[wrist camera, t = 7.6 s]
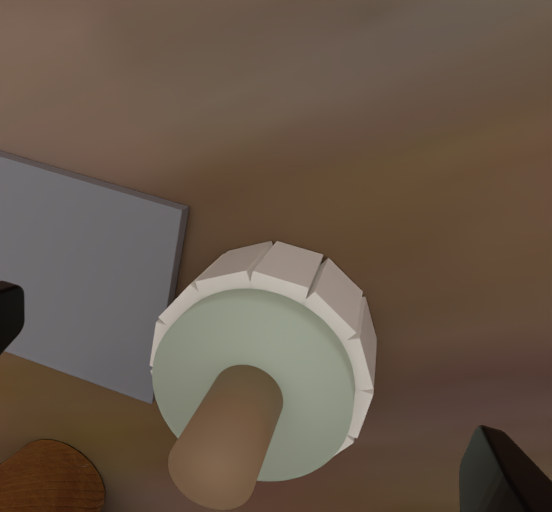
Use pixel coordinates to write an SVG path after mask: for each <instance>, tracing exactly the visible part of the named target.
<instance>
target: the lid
mask: <svg viewBox="0 0 552 512" xmlns="http://www.w3.org/2000/svg"><path fill="white" fill-rule="evenodd" d="M152 382H153V390H154V394H155V399H156V401H157V404H158V407H159V410H160V412H161V414H162V416H163V418H164V420H165V421H166V423H167V425H168V426H169V428H170V429H171V431H172V432H173V433H174V434H175V436H176V437H177V438H178V440H177V441H176V443H175V444H174V446H173V448H172V449H171V451H170V454H169V457H168V469H169V473H170V476H171V478H172V480H173V482H174V483H175V485H176V486H177V488H178V489H179V490H180V491H181V492H182V493H183V494H184V495H185V496H186V497H187V498H189V499H190V500H192V501H193V502H195V503H197V504H199V505H201V506H204V507H207V508H210V509H215V510H229V509H234V508H237V507H239V506H241V505H242V504H244V503H245V502H246V501H247V500H248V499H249V498H250V496H251V495H252V492H253V489H254V487H255V484H256V481H282V480H290V479H294V478H297V477H301V476H304V475H306V474H309V473H311V472H313V471H315V470H316V469H318V468H320V467H322V466H323V465H324V464H325V463H327V462H328V461H329V460H330V459H331V458H332V457H333V456H334V455H335V454H336V453H337V452H338V450H339V449H340V447H341V446H342V444H343V443H344V441H345V439H346V436H347V434H348V432H349V428H350V425H351V421H352V414H353V406H354V397H355V378H354V373H353V368H352V364H351V362H350V359H349V356H348V353H347V352H346V350H345V348H344V346H343V344H342V342H341V341H340V339H339V338H338V337H337V335H336V334H335V332H334V331H333V330H332V329H331V328H330V327H329V325H328V324H327V323H326V322H325V321H324V320H323V319H321V318H320V317H319V316H318V315H317V314H316V313H314V312H313V311H312V310H310V309H309V308H307V307H306V306H304V305H303V304H301V303H299V302H297V301H295V300H293V299H291V298H289V297H286V296H283V295H281V294H278V293H274V292H270V291H266V290H260V289H251V288H244V289H231V290H224V291H221V292H218V293H214V294H212V295H209V296H207V297H205V298H203V299H201V300H200V301H198V302H196V303H195V304H193V305H192V306H191V307H190V308H189V309H188V310H186V311H185V312H184V313H183V314H182V315H181V316H180V317H179V318H178V319H177V320H176V321H175V323H174V324H173V325H172V326H171V327H170V328H169V329H168V331H167V332H166V333H165V334H164V336H163V338H162V339H161V341H160V343H159V345H158V348H157V350H156V353H155V357H154V361H153V369H152Z"/></svg>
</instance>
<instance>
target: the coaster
mask: <svg viewBox="0 0 552 512" xmlns="http://www.w3.org/2000/svg"><path fill="white" fill-rule="evenodd" d="M188 211H189V206H186V205H183V204H179V203H176V202H172V201H169V200H166V199H162V198H159V197H155V196H152V195H148V194H145V193H142V192H138V191H135V190H131V189H128V188H125V187H121V186H118V185H114V184H111V183H108V182H104V181H101V180H97V179H94V178H91V177H87V176H84V175H80V174H77V173H74V172H70V171H67V170H63V169H60V168H57V167H53V166H50V165H46V164H43V163H39V162H36V161H33V160H29V159H26V158H22V157H19V156H16V155H12V154H9V153H5V152H2V151H0V281H6V282H10V283H13V284H16V285H19V286H21V287H22V288H23V290H24V296H25V323H24V326H23V329H22V331H21V332H20V334H19V335H18V336H17V337H16V338H15V339H14V340H13V342H12V343H11V344H10V345H9V346H8V347H7V348H6V349H5V350H4V351H6V352H9V353H11V354H14V355H17V356H20V357H22V358H25V359H28V360H31V361H34V362H36V363H39V364H42V365H45V366H47V367H50V368H53V369H56V370H58V371H61V372H64V373H67V374H69V375H72V376H75V377H78V378H80V379H83V380H86V381H89V382H92V383H94V384H97V385H100V386H103V387H105V388H108V389H111V390H114V391H116V392H119V393H122V394H125V395H127V396H130V397H133V398H136V399H138V400H141V401H144V402H147V403H149V404H152V403H153V402H154V401H155V394H154V390H153V382H152V374H151V372H150V371H151V369H152V368H153V367H152V366H150V359H151V352H152V346H153V339H154V332H155V326H156V322H157V321H158V320H159V319H160V318H158V317H159V316H160V315H161V314H162V313H163V312H164V311H165V310H166V309H167V308H168V307H169V306H170V305H171V304H172V303H173V301H174V297H175V291H176V285H177V279H178V272H179V266H180V260H181V254H182V248H183V241H184V235H185V229H186V223H187V217H188Z"/></svg>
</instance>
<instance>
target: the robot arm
mask: <svg viewBox="0 0 552 512" xmlns="http://www.w3.org/2000/svg"><path fill="white" fill-rule="evenodd" d="M24 323H25V296H24V290H23V288H22V287H21V286H19V285H16V284H13V283H10V282H6V281H0V355H1V354H2V353H3V351H4V350H5V349H6V348H7V347H8V346H9V345H10V344H11V343H12V342H13V340H14V339H15V338H16V337H17V336H18V335H19V334H20V332H21V331H22V329H23V326H24ZM459 489H460V512H552V481H551V480H550V479H549V478H548V477H547V476H546V475H545V474H544V473H543V472H542V471H541V470H540V469H539V468H538V467H537V466H536V464H535V463H534V462H533V461H532V460H531V459H530V458H529V457H528V456H527V455H526V454H525V453H524V452H523V451H522V450H521V449H520V448H519V447H518V446H517V445H516V444H515V443H514V442H513V441H512V439H511V438H510V437H509V436H508V435H507V434H506V433H505V432H503V431H501V430H497V429H494V428H491V427H487V426H484V425H481V426H478V427H477V428H476V430H475V431H474V433H473V435H472V438H471V440H470V442H469V444H468V447H467V449H466V451H465V453H464V455H463V458H462V460H461V464H460V470H459Z"/></svg>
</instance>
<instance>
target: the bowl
mask: <svg viewBox="0 0 552 512" xmlns="http://www.w3.org/2000/svg"><path fill="white" fill-rule="evenodd" d="M322 258H323V254H319V253H316V252H313V251H309V250H306V249H303V248H299V247H296V246H292V245H289V244H286V243H282V242H279V241H277V242H276V243H275V244H274V245H273V244H272V241H268V242H264V243H260V244H255V245H251V246H247V247H242V248H238V249H234V250H230V251H227V252H226V253H225V254H222V255H221V256H220V257H219V258H218V259H217V260H216V261H215V262H214V263H213V264H212V265H210V266H209V267H208V268H207V269H206V270H205V271H204V272H203V273H202V274H201V275H200V276H198V277H197V278H196V279H195V280H194V281H193V282H192V283H191V284H190V285H189V286H188V287H187V288H186V289H185V290H184V291H183V292H182V293H181V294H180V295H179V296H178V297H177V298H176V299H175V300H174V301H173V303H172V304H171V305H170V306H169V307H168V308H167V309H166V310H165V311H164V312H163V313H162V314H161V315H160V316H159V317H158V318H160V319H159V320H158V321H157V322H156V326H155V332H154V339H153V346H152V352H151V359H150V366H152V367H153V361H154V357H155V353H156V350H157V348H158V345H159V343H160V341H161V339H162V338H163V336H164V334H165V333H166V332H167V331H168V329H169V328H170V327H171V326H172V325H173V324H174V323H175V321H176V320H177V319H178V318H179V317H180V316H181V315H182V314H183V313H184V312H185V311H186V310H188V309H189V308H190V307H191V306H192V305H193V304H195V303H196V302H198V301H200V300H201V299H203V298H205V297H207V296H209V295H212V294H214V293H218V292H221V291H224V290H231V289H244V288H251V289H260V290H266V291H270V292H274V293H278V294H281V295H283V296H286V297H289V298H291V299H293V300H295V301H297V302H299V303H301V304H303V305H304V306H306V307H307V308H309V309H310V310H312V311H313V312H314V313H316V314H317V315H318V316H319V317H320V318H321V319H323V320H324V321H325V322H326V323H327V324H328V325H329V327H330V328H331V329H332V330H333V331H334V332H335V334H336V335H337V337H338V338H339V339H340V341H341V342H342V344H343V346H344V348H345V350H346V352H347V353H348V356H349V359H350V362H351V364H352V368H353V373H354V378H355V397H354V406H353V414H352V421H351V425H350V428H349V432H348V434H347V436H346V439H345V441H344V443H343V444H342V446H341V447H340V449H339V450H338V452H337V453H336V454H338V453H339V452H341V451H342V450H344V449H345V448H347V447H348V446H350V445H351V444H353V443H354V438H358V435H359V432H360V430H361V427H362V424H363V422H364V419H365V416H366V413H367V411H368V408H369V405H370V403H371V400H372V397H373V393H374V378H375V362H376V347H377V338H376V334H375V331H374V327H373V323H372V319H371V315H370V312H369V308H368V304H367V300H366V297H362V294H363V291H362V290H361V289H360V288H358V287H357V286H356V285H355V284H354V283H353V282H352V281H351V280H350V279H349V278H348V277H347V276H346V275H345V274H344V273H343V272H342V271H341V270H340V269H339V268H338V267H337V266H336V265H335V264H334V263H333V262H332V261H331V260H330V259H329V258H327V259H326V260H325V261H324V262H323V263H322V264H321V262H322ZM152 369H153V368H152ZM152 369H151V371H150V372H151V374H152ZM336 454H335V455H336ZM335 455H334V456H335Z"/></svg>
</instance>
